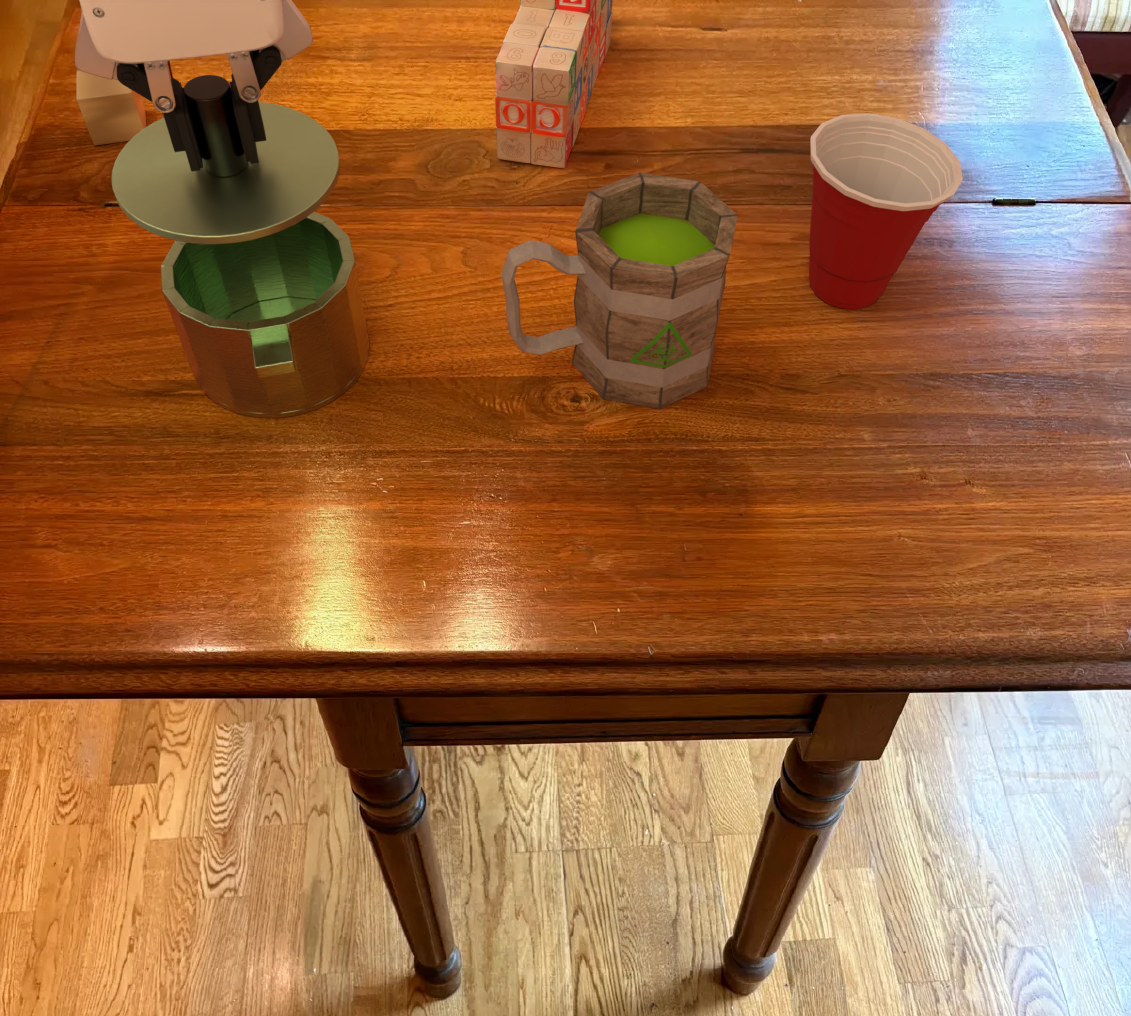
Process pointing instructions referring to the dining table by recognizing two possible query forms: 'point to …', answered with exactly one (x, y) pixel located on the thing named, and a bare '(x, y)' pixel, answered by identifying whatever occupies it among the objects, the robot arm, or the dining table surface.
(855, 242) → the plastic cup
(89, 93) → the block
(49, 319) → the dining table surface
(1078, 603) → the dining table surface
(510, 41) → the stack of blocks
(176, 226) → the lid
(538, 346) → the mug
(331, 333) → the pot
